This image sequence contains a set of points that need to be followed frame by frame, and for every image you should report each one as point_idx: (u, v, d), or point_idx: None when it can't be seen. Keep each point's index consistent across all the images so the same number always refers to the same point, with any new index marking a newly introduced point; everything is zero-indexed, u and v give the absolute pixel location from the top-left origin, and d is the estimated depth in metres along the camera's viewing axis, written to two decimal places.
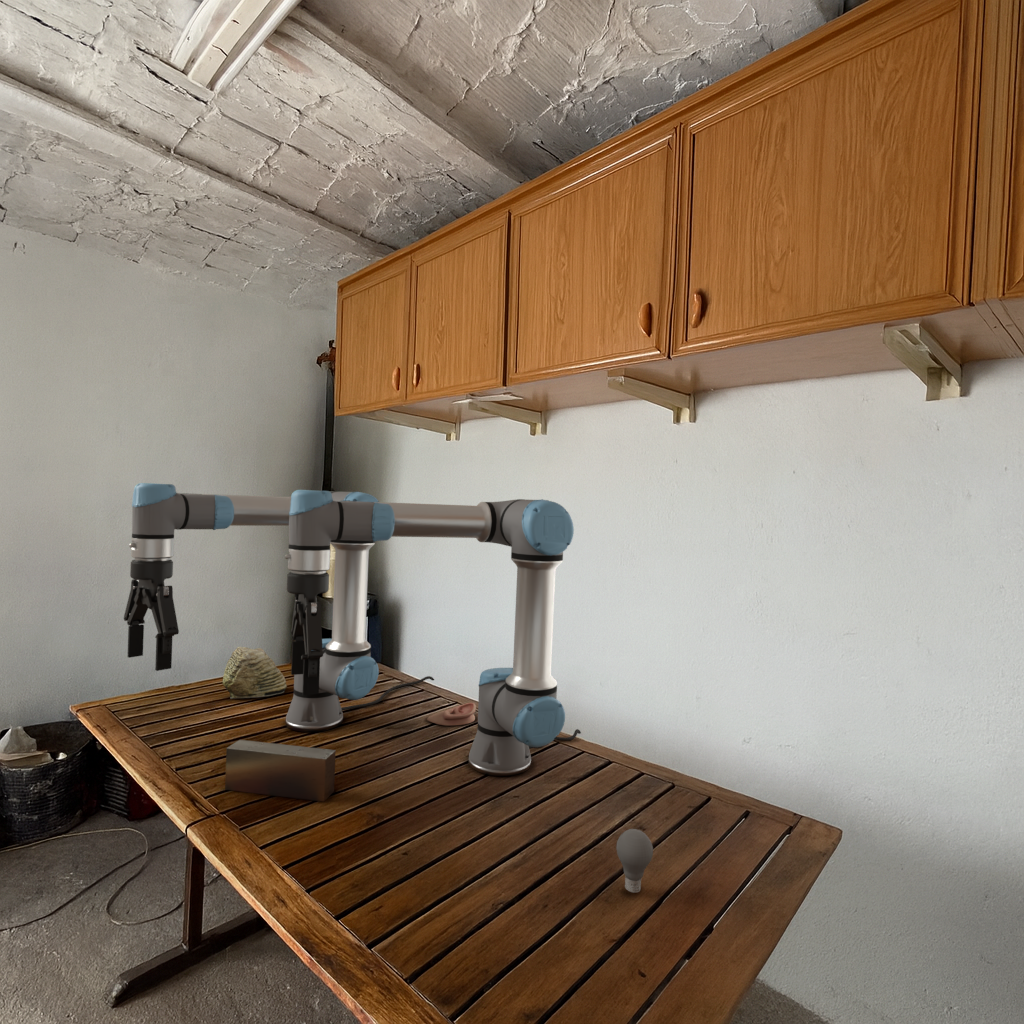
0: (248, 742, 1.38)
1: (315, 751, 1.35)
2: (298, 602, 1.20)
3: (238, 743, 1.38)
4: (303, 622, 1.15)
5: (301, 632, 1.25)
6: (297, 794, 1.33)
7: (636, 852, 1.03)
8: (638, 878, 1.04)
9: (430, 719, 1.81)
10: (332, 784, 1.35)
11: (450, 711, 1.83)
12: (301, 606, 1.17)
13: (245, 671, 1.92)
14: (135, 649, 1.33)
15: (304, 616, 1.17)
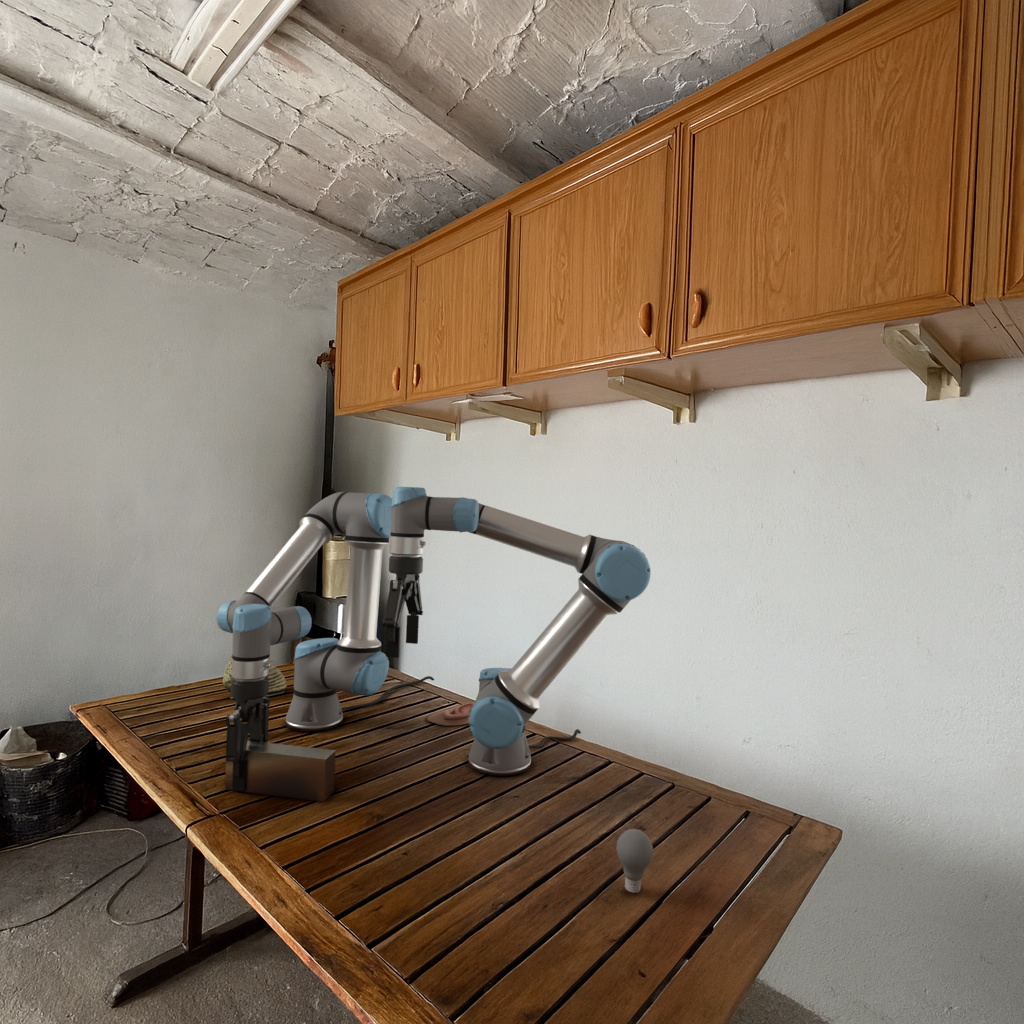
0: (248, 742, 1.38)
1: (315, 751, 1.35)
2: None
3: None
4: None
5: None
6: (297, 794, 1.33)
7: (636, 852, 1.03)
8: (638, 878, 1.04)
9: (430, 719, 1.81)
10: (332, 783, 1.35)
11: (450, 711, 1.83)
12: None
13: None
14: None
15: None
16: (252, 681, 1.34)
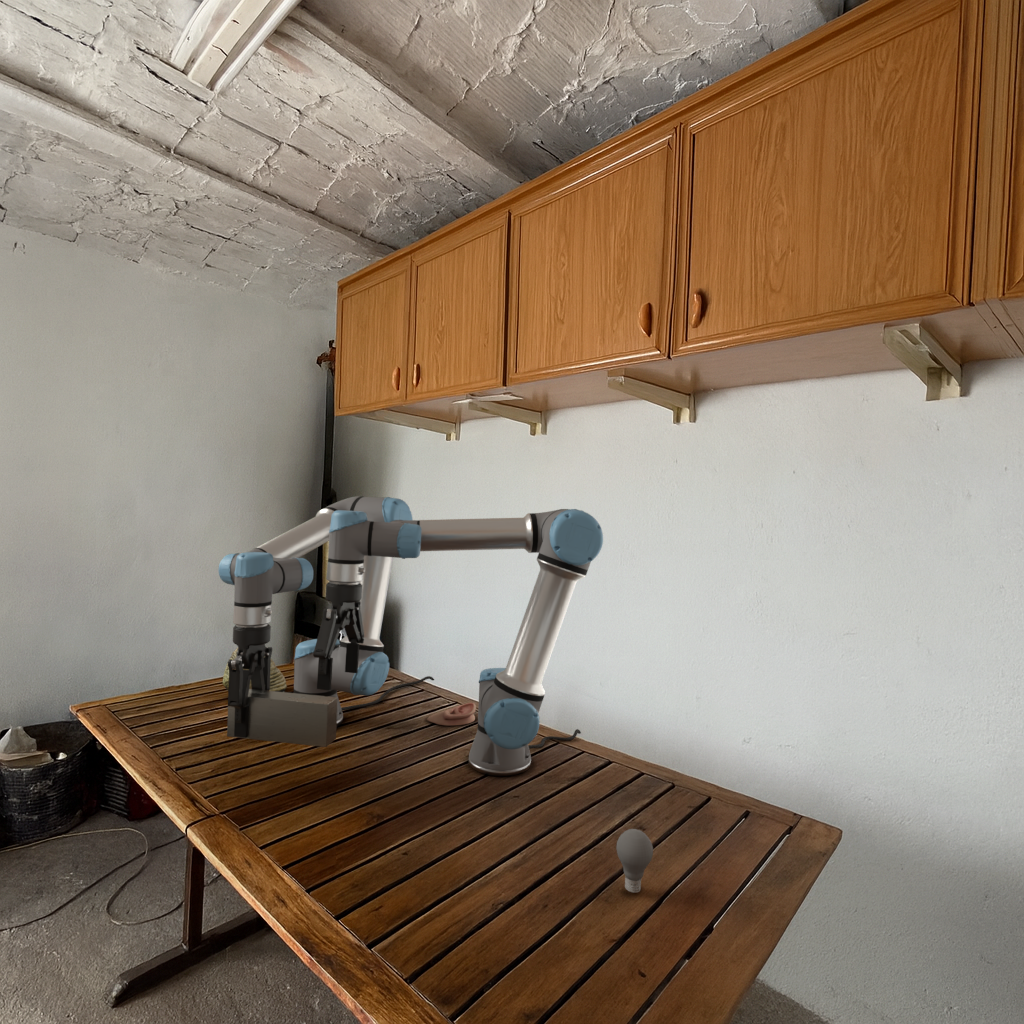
0: (250, 690, 1.38)
1: (317, 698, 1.35)
2: None
3: None
4: None
5: None
6: (299, 740, 1.32)
7: (636, 852, 1.03)
8: (638, 878, 1.04)
9: (430, 719, 1.81)
10: (334, 730, 1.35)
11: (450, 711, 1.83)
12: None
13: None
14: None
15: None
16: (254, 627, 1.34)
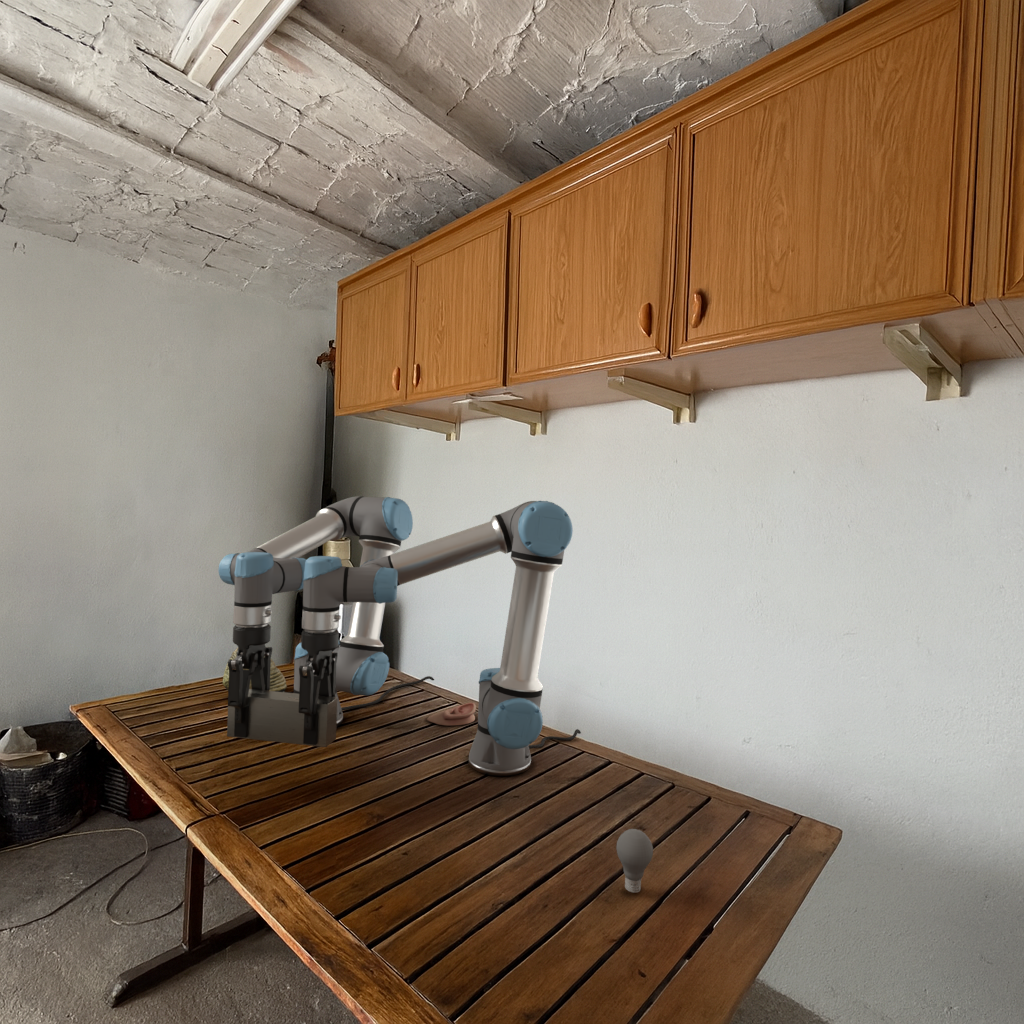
0: (250, 690, 1.38)
1: None
2: (323, 659, 1.33)
3: None
4: None
5: None
6: (299, 740, 1.32)
7: (636, 852, 1.03)
8: (638, 878, 1.04)
9: (430, 719, 1.81)
10: (334, 731, 1.35)
11: (450, 711, 1.83)
12: None
13: None
14: None
15: None
16: (254, 627, 1.34)
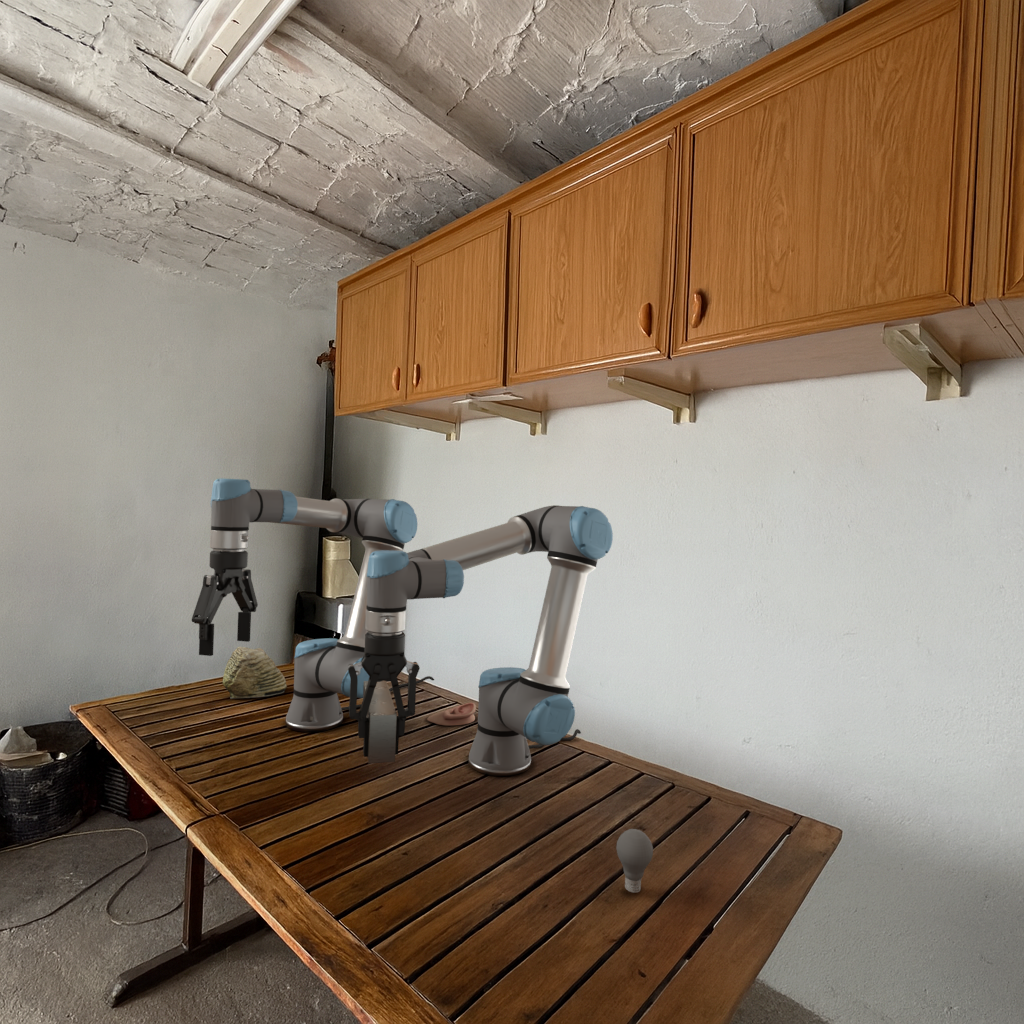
0: (382, 683, 1.37)
1: (385, 708, 1.22)
2: (378, 664, 1.19)
3: None
4: (398, 684, 1.20)
5: None
6: None
7: (636, 852, 1.03)
8: (638, 878, 1.04)
9: (430, 719, 1.81)
10: (390, 751, 1.18)
11: (450, 711, 1.83)
12: (394, 667, 1.20)
13: (245, 671, 1.92)
14: None
15: (398, 674, 1.21)
16: (230, 551, 1.34)
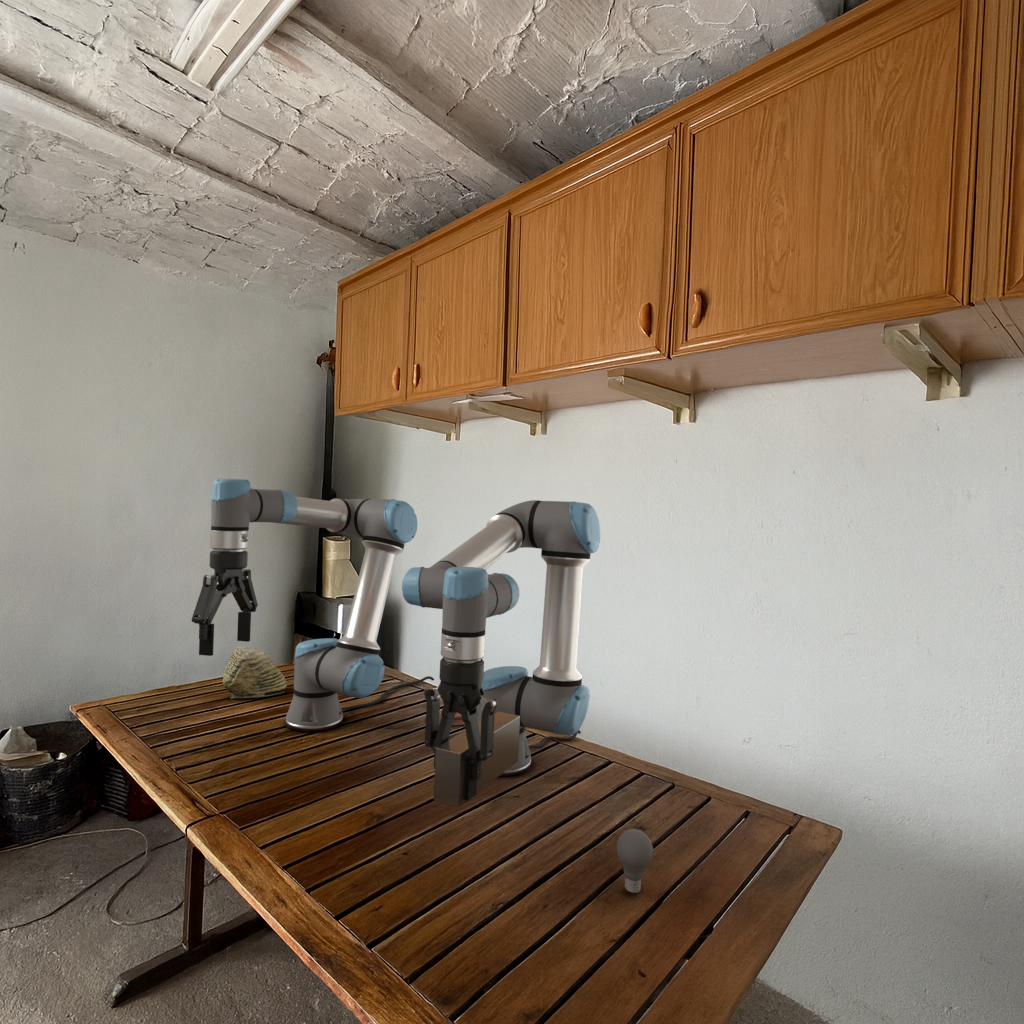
0: (509, 718, 1.22)
1: (463, 744, 1.09)
2: (450, 693, 1.08)
3: (508, 715, 1.24)
4: (469, 720, 1.06)
5: (446, 736, 1.10)
6: None
7: (636, 852, 1.03)
8: (638, 878, 1.04)
9: None
10: (453, 794, 1.05)
11: None
12: (466, 700, 1.06)
13: (245, 671, 1.92)
14: None
15: (471, 708, 1.06)
16: (230, 551, 1.34)
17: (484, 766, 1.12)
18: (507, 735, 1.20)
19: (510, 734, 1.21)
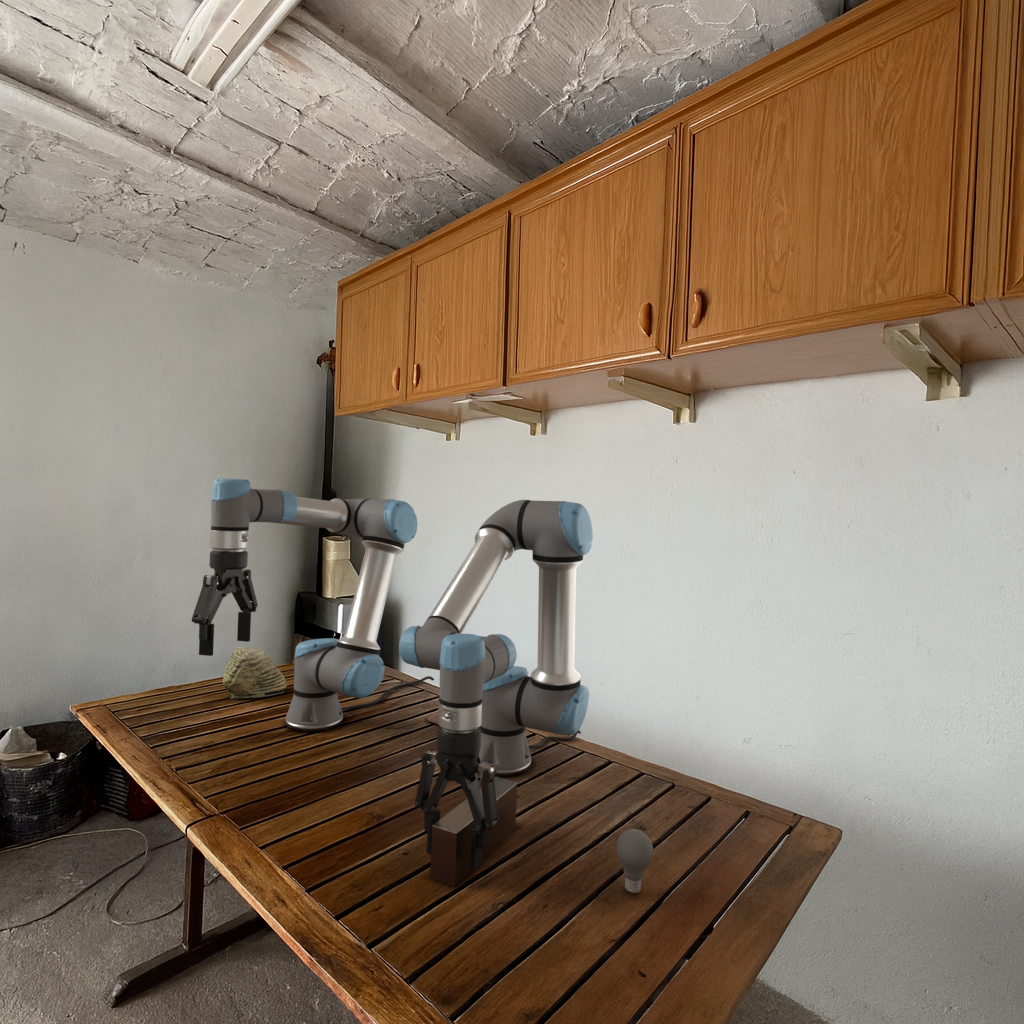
0: (507, 786, 1.23)
1: (460, 820, 1.09)
2: (447, 761, 1.08)
3: (505, 781, 1.25)
4: (469, 788, 1.06)
5: (437, 800, 1.11)
6: None
7: (636, 852, 1.03)
8: (638, 878, 1.04)
9: (430, 719, 1.81)
10: (449, 872, 1.05)
11: None
12: (463, 769, 1.07)
13: (245, 671, 1.92)
14: None
15: (468, 778, 1.07)
16: (230, 551, 1.34)
17: None
18: (504, 804, 1.20)
19: (507, 803, 1.21)
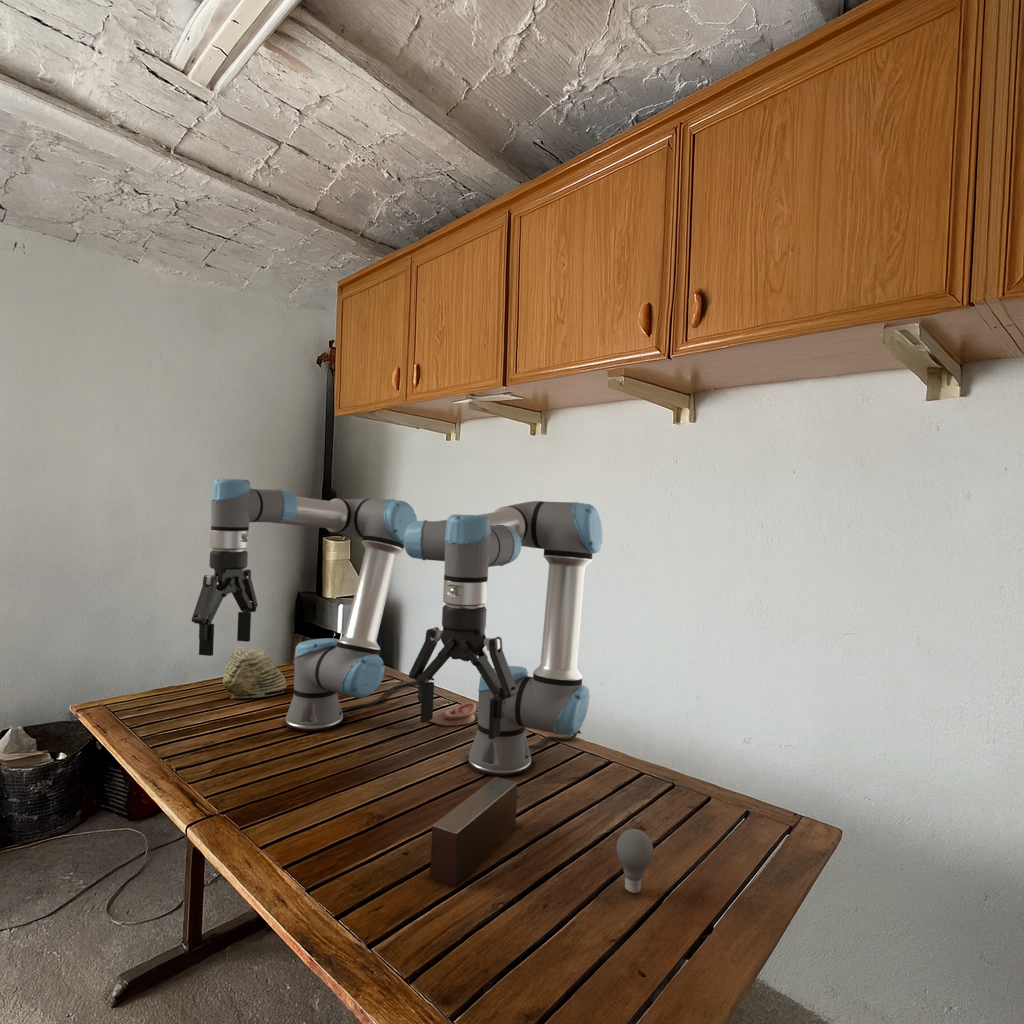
0: (507, 786, 1.23)
1: (460, 820, 1.09)
2: (453, 640, 1.07)
3: (505, 781, 1.25)
4: (479, 661, 1.05)
5: (433, 673, 1.11)
6: None
7: (636, 852, 1.03)
8: (638, 878, 1.04)
9: None
10: (449, 872, 1.05)
11: (450, 711, 1.83)
12: (469, 644, 1.06)
13: (245, 671, 1.92)
14: None
15: None
16: (230, 551, 1.34)
17: (480, 840, 1.12)
18: (504, 804, 1.20)
19: (507, 803, 1.21)
